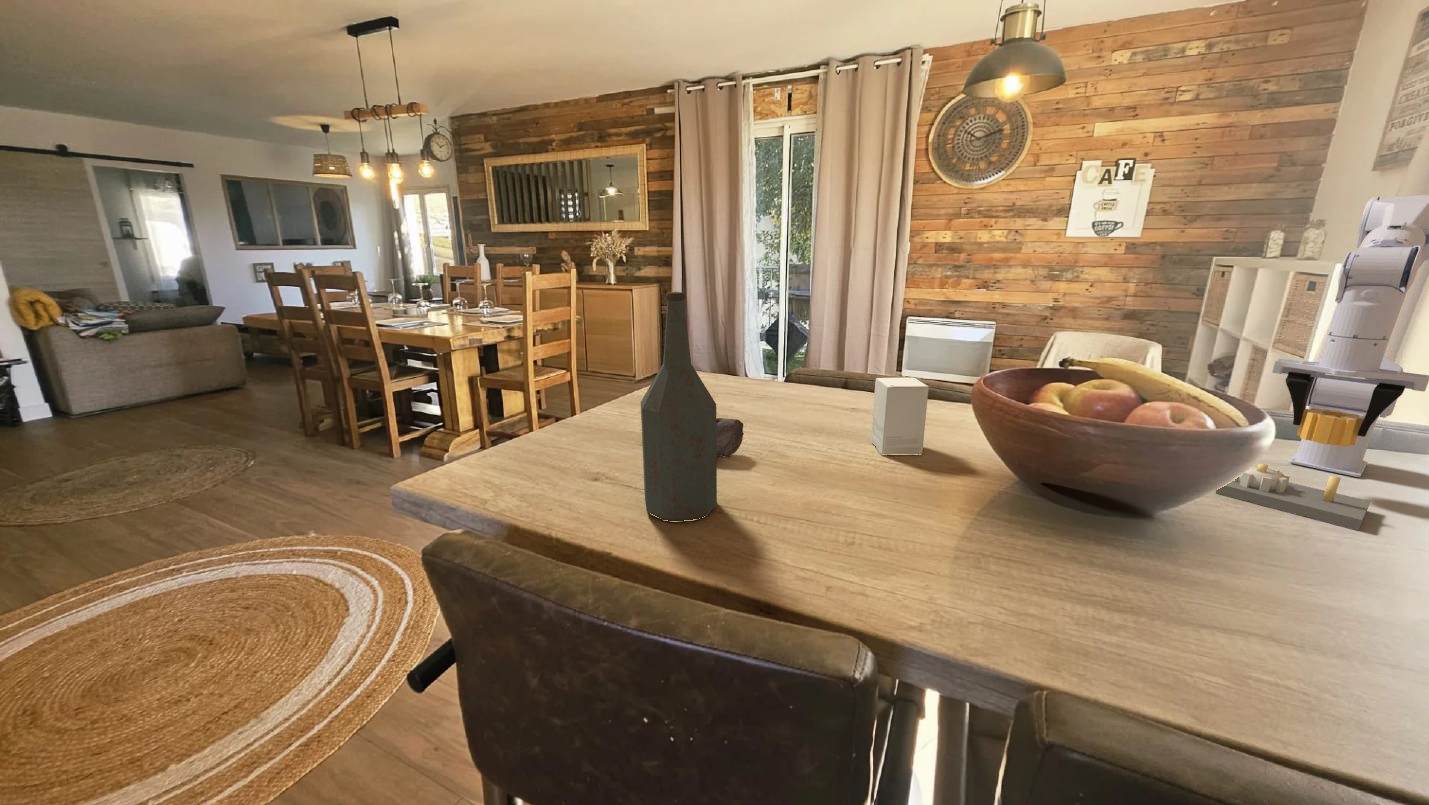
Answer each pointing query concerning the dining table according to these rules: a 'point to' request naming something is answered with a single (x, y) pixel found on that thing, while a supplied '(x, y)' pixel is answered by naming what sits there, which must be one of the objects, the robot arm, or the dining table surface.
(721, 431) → the dark brown rounded piece
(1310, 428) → the amber gear
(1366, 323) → the robot arm
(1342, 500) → the gear board
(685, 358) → the bottle
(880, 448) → the supplement box
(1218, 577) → the dining table surface
